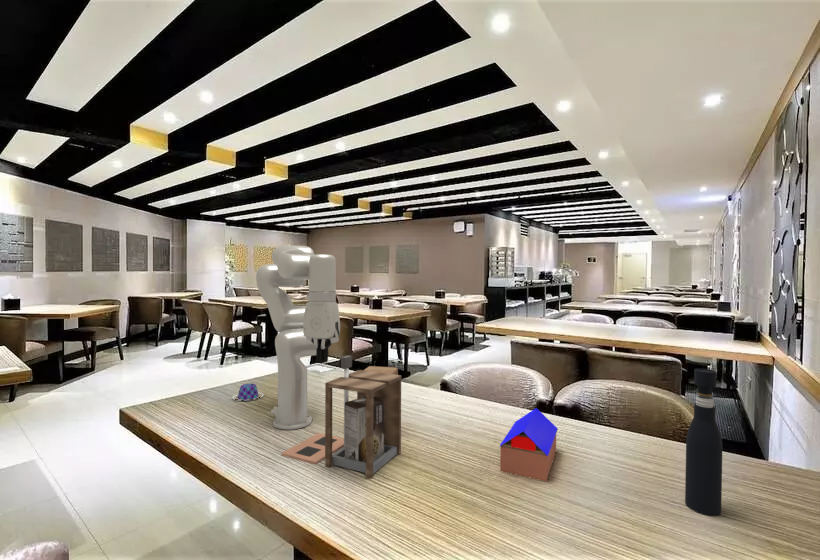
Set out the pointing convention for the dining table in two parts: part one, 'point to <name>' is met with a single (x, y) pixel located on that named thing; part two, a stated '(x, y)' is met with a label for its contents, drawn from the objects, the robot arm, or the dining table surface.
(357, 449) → the coffee box
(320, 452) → the board
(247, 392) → the purple checkered hat
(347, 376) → the cradle
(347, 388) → the brown wooden stand
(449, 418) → the dining table surface
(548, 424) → the house
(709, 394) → the wine bottle
